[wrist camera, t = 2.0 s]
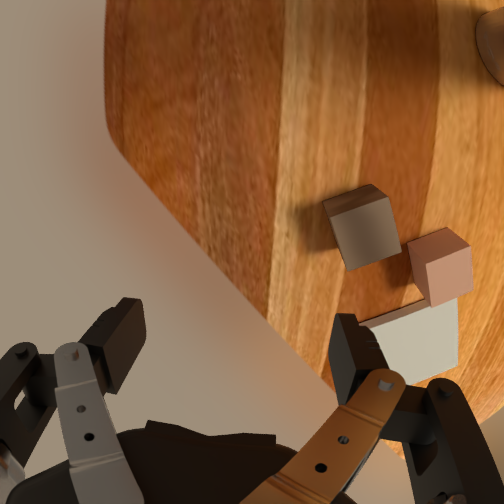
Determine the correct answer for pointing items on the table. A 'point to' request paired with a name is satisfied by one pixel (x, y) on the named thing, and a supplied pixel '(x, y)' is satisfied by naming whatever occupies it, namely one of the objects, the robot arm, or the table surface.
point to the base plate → (418, 339)
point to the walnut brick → (363, 226)
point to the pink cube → (441, 266)
